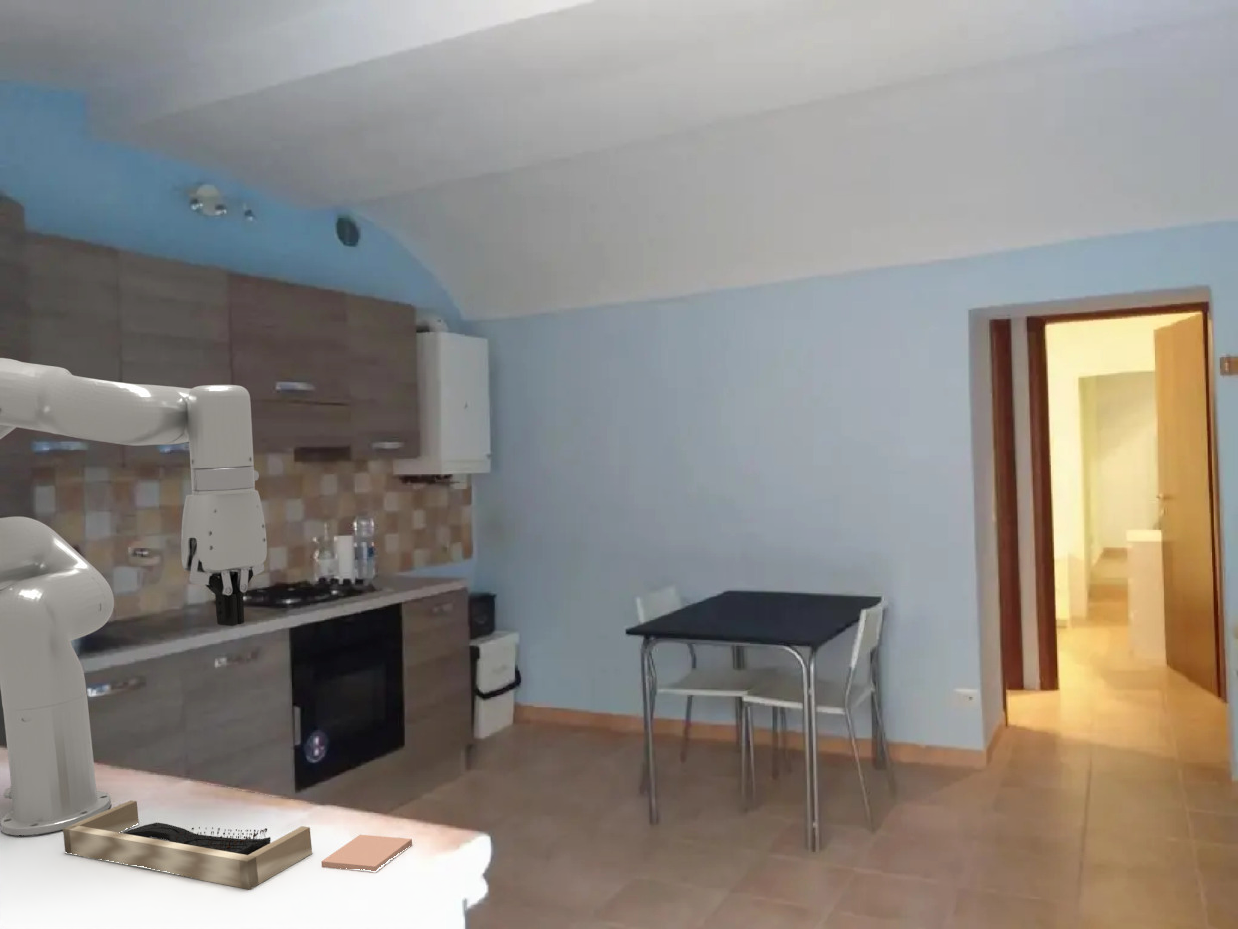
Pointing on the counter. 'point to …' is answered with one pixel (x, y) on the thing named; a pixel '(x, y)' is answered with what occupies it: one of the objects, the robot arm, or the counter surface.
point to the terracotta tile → (366, 852)
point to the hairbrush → (201, 838)
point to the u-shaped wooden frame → (181, 850)
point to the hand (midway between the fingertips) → (230, 623)
